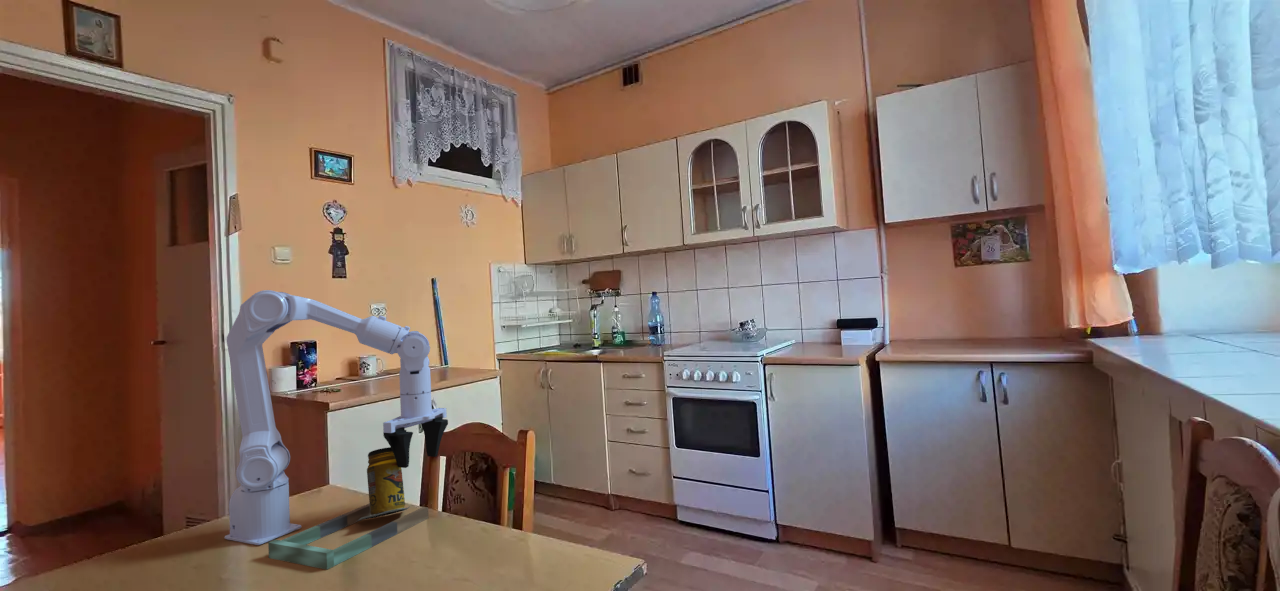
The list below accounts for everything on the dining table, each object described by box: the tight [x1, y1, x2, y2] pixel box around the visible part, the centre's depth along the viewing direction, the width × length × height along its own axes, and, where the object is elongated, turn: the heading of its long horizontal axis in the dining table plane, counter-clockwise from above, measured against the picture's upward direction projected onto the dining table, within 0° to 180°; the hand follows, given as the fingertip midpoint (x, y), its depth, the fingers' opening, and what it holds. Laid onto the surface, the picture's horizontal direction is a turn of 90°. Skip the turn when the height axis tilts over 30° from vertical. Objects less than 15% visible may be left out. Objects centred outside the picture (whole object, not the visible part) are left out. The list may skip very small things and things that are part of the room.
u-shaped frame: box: [267, 502, 430, 571], centre depth 97 cm, size 13×21×2 cm, turn 158°
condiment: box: [358, 446, 410, 522], centre depth 105 cm, size 7×8×12 cm
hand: (418, 461), depth 109 cm, fingers open, 7 cm apart
